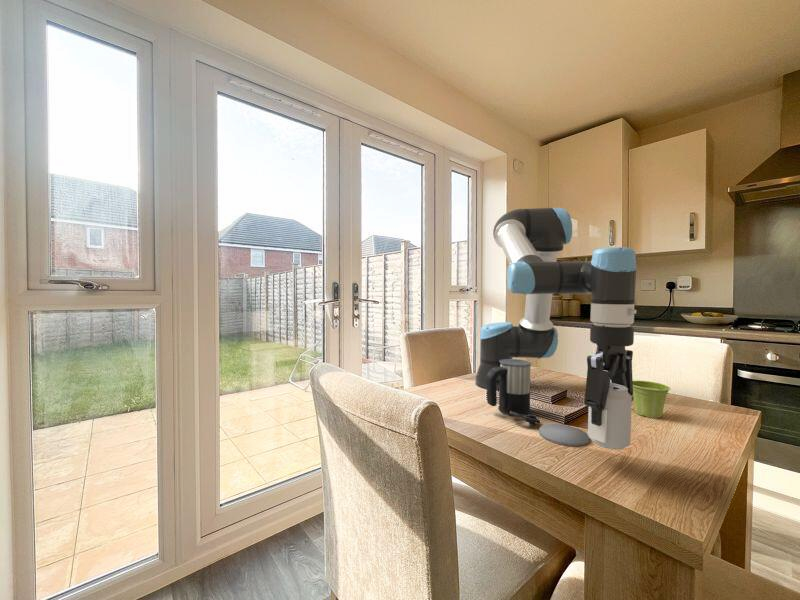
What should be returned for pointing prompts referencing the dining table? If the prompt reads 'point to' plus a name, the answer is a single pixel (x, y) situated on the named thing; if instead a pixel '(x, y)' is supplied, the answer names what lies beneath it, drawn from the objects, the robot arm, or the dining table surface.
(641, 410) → the plant pot
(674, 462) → the dining table surface
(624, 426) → the can
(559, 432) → the coaster
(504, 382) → the milk frother
